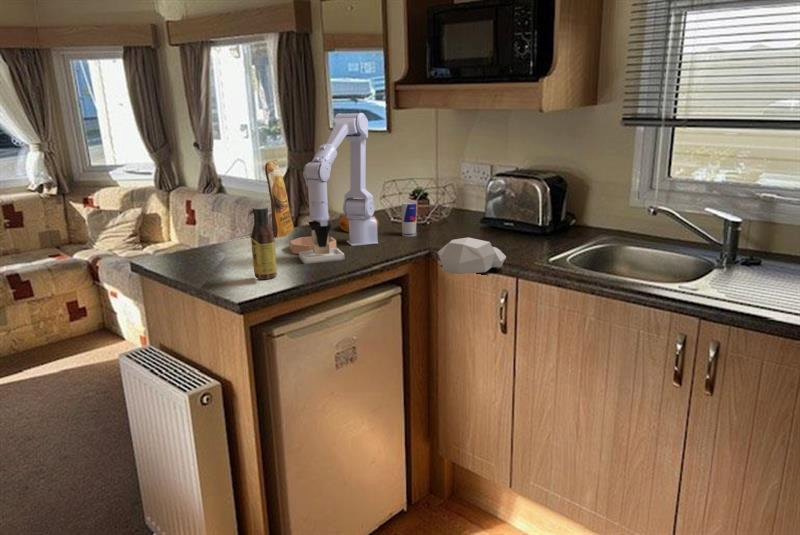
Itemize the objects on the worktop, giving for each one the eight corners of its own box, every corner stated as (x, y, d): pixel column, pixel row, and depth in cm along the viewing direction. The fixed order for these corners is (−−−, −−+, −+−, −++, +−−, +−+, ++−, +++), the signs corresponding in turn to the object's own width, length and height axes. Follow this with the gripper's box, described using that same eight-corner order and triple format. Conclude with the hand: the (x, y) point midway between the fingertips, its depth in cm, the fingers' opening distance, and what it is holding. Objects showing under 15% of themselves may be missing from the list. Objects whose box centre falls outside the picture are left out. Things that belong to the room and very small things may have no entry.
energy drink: (415, 237, 217) (414, 204, 214) (400, 237, 218) (400, 204, 215) (418, 234, 222) (417, 202, 219) (403, 234, 223) (403, 201, 220)
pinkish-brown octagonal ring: (330, 243, 211) (329, 234, 210) (339, 251, 197) (339, 242, 196) (288, 247, 206) (287, 238, 205) (295, 256, 193) (294, 247, 192)
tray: (337, 253, 195) (337, 248, 195) (344, 259, 186) (344, 254, 186) (299, 257, 191) (298, 251, 191) (304, 263, 182) (303, 258, 182)
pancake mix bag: (264, 240, 218) (258, 162, 211) (281, 230, 236) (276, 158, 229) (282, 240, 217) (276, 162, 210) (298, 230, 235) (293, 158, 228)
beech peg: (326, 250, 191) (325, 228, 189) (329, 253, 187) (328, 231, 185) (312, 251, 190) (311, 230, 188) (315, 254, 186) (314, 232, 184)
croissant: (366, 226, 241) (365, 206, 239) (384, 232, 228) (384, 211, 226) (333, 230, 234) (332, 210, 232) (350, 236, 221) (349, 215, 219)
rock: (437, 261, 182) (436, 230, 180) (503, 260, 181) (504, 229, 179) (438, 278, 164) (437, 243, 162) (512, 277, 163) (512, 242, 161)
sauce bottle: (256, 275, 171) (250, 205, 166) (278, 274, 172) (273, 204, 167) (252, 281, 165) (246, 209, 160) (275, 280, 165) (270, 208, 160)
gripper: (301, 199, 190) (304, 241, 193) (309, 205, 176) (312, 251, 180) (323, 198, 192) (325, 239, 195) (333, 204, 179) (335, 248, 182)
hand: (320, 245), depth 188 cm, fingers closed on beech peg, 4 cm apart
